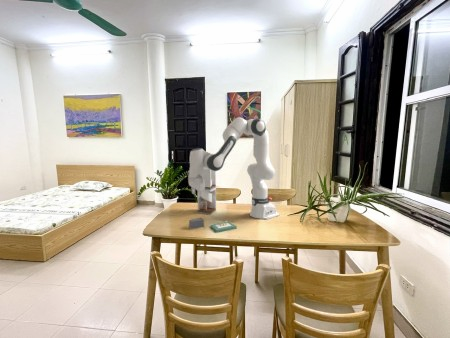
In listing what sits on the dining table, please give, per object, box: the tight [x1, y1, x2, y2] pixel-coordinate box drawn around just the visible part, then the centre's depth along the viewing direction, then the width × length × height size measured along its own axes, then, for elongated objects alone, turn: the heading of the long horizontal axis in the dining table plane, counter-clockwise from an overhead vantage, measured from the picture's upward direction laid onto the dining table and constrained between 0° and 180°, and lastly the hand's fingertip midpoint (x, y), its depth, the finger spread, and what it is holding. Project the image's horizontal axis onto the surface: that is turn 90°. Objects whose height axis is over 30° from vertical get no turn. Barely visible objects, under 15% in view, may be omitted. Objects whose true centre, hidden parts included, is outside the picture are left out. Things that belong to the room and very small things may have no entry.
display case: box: [196, 167, 217, 216], centre depth 176 cm, size 11×11×35 cm
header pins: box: [219, 219, 228, 226], centre depth 146 cm, size 5×1×3 cm, turn 117°
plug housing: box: [188, 217, 205, 230], centre depth 147 cm, size 8×4×5 cm, turn 117°
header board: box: [209, 221, 238, 233], centre depth 146 cm, size 14×10×2 cm
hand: (196, 195), depth 145 cm, fingers open, 8 cm apart
